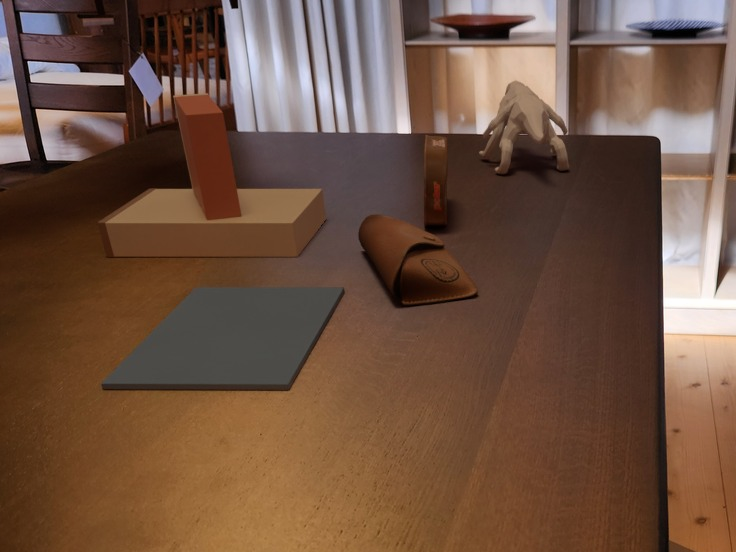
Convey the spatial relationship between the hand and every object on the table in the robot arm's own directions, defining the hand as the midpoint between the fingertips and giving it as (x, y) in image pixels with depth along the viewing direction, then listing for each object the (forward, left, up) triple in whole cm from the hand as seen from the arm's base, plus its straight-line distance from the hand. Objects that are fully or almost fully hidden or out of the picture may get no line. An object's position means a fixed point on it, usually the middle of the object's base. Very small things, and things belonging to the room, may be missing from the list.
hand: (168, 2), depth 93 cm
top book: (+4, -9, -18) cm, 21 cm away
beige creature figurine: (+37, +24, -22) cm, 49 cm away
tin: (+27, -1, -22) cm, 35 cm away
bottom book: (+4, -9, -22) cm, 24 cm away
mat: (+14, -37, -22) cm, 46 cm away
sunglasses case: (+27, -21, -22) cm, 41 cm away
